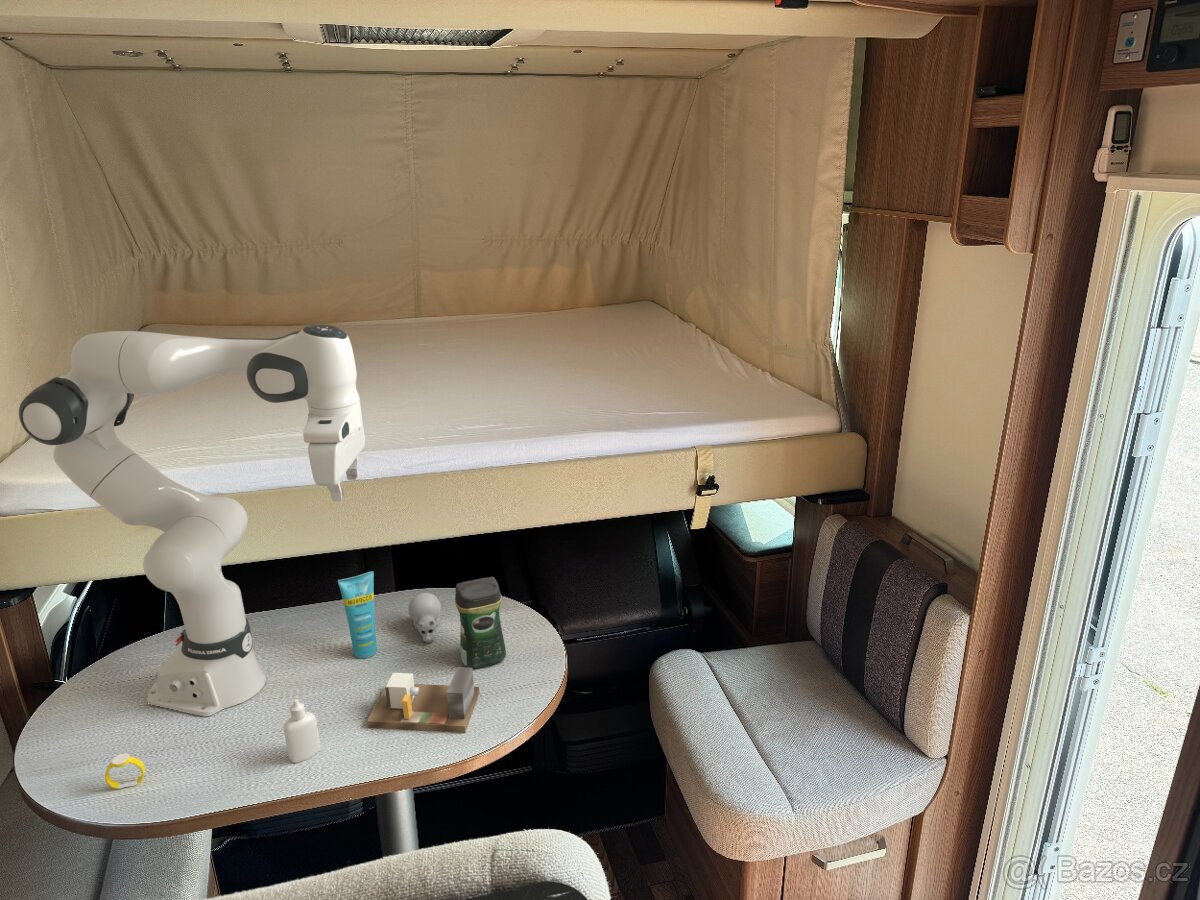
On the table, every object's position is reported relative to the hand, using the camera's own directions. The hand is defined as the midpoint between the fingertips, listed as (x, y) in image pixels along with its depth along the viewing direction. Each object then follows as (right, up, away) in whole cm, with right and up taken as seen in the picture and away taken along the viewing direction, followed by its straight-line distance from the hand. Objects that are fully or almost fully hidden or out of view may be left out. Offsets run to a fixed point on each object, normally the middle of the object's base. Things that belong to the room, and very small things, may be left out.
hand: (345, 488), depth 156 cm
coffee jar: (+21, -38, +28) cm, 52 cm away
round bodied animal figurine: (+7, -34, +38) cm, 52 cm away
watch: (-37, -52, -6) cm, 64 cm away
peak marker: (+10, -44, +8) cm, 45 cm away
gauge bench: (+12, -44, +12) cm, 47 cm away
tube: (-5, -37, +31) cm, 49 cm away
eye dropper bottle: (-8, -49, +1) cm, 50 cm away
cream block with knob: (+8, -43, +10) cm, 45 cm away
